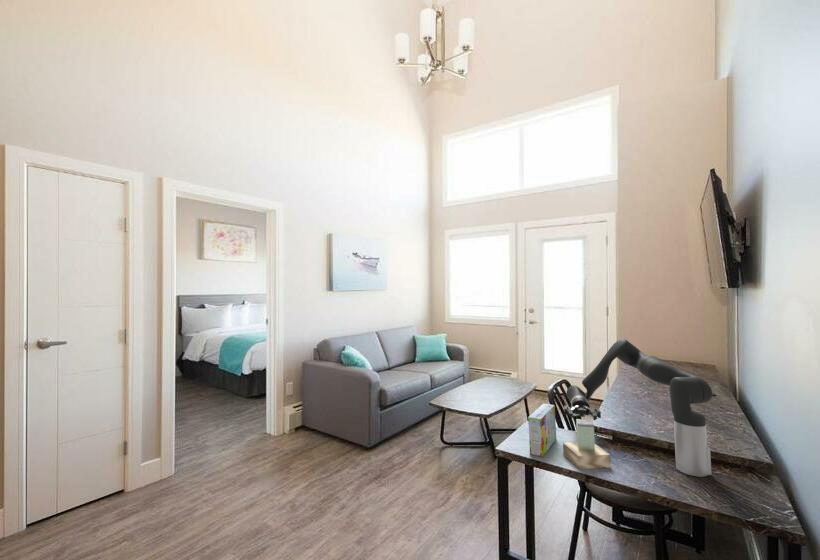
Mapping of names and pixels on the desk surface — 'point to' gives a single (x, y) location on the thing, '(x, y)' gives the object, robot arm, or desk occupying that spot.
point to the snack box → (542, 429)
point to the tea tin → (585, 435)
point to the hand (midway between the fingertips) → (583, 416)
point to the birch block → (586, 456)
